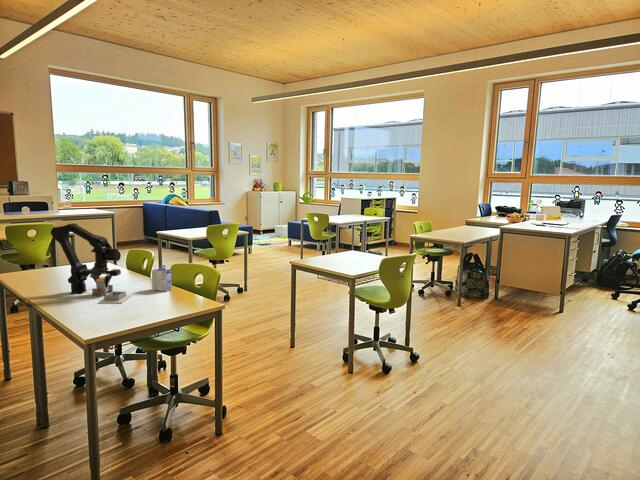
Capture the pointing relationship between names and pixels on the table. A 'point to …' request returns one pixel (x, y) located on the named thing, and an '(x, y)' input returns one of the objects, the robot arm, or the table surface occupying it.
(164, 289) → the ink cartridge box
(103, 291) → the wooden blocks
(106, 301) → the dock
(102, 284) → the plug
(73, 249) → the robot arm
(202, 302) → the table surface
